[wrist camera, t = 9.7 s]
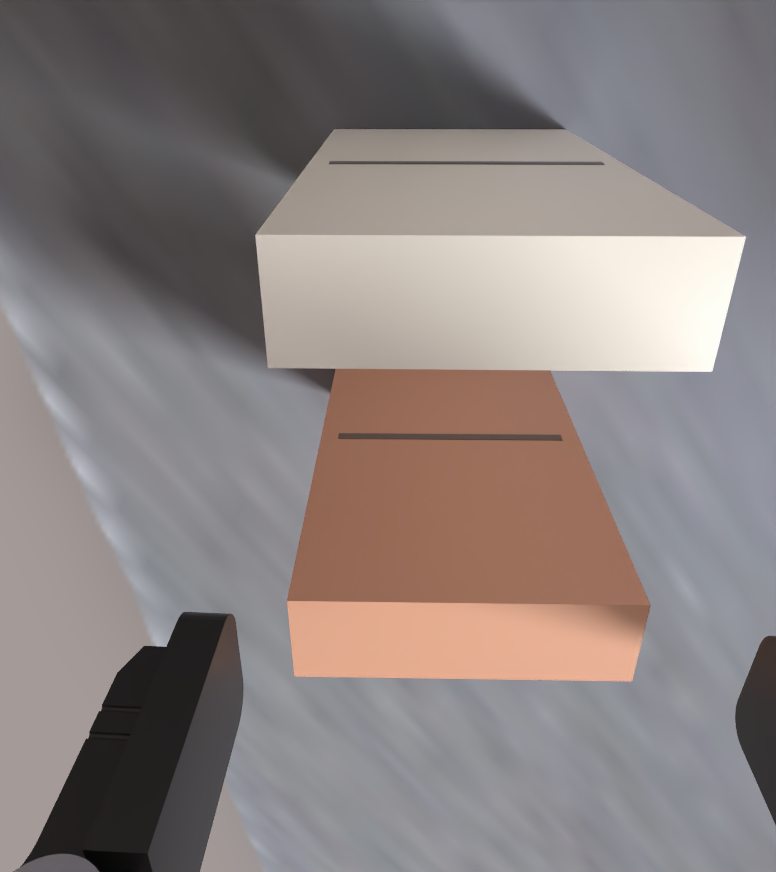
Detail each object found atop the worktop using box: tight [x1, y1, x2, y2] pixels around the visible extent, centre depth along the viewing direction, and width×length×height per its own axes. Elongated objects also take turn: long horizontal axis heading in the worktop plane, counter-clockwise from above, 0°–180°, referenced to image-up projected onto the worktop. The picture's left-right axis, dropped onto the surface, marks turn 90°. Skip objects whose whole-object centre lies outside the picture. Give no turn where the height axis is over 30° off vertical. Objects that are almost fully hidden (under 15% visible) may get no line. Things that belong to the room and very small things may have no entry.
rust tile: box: [287, 369, 651, 681], centre depth 17 cm, size 2×6×11 cm, turn 90°
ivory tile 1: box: [255, 129, 746, 372], centre depth 14 cm, size 2×6×11 cm, turn 90°
